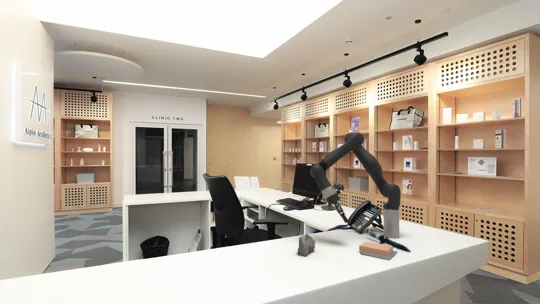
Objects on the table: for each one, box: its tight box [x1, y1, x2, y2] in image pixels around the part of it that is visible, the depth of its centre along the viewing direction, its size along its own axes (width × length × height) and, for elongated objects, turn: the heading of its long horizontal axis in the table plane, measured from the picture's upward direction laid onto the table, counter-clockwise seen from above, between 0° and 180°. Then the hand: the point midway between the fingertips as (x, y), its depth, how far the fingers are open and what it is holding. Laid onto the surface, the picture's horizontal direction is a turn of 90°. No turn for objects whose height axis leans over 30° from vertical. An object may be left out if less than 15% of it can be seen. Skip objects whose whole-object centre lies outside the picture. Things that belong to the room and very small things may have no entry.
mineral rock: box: [297, 233, 316, 257], centre depth 140 cm, size 13×11×10 cm
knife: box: [366, 229, 412, 253], centre depth 155 cm, size 31×3×4 cm, turn 21°
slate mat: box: [360, 250, 398, 261], centre depth 140 cm, size 15×14×1 cm
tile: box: [358, 241, 394, 257], centre depth 141 cm, size 10×3×14 cm
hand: (347, 222), depth 154 cm, fingers closed
